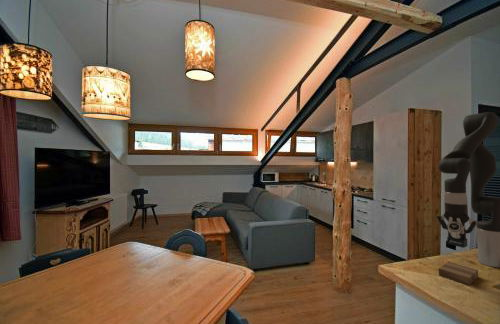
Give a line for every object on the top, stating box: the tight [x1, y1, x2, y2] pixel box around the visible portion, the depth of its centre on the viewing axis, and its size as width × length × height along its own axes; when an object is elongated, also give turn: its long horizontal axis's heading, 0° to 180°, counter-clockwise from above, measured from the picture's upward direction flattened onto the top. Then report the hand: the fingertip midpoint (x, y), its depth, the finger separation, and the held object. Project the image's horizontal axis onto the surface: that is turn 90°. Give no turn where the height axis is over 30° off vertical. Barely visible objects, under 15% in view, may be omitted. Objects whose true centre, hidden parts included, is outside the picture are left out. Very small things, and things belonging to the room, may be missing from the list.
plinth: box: [438, 261, 479, 286], centre depth 96 cm, size 12×10×3 cm
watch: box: [446, 221, 468, 249], centre depth 96 cm, size 6×8×11 cm
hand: (457, 240), depth 96 cm, fingers closed on watch, 3 cm apart
